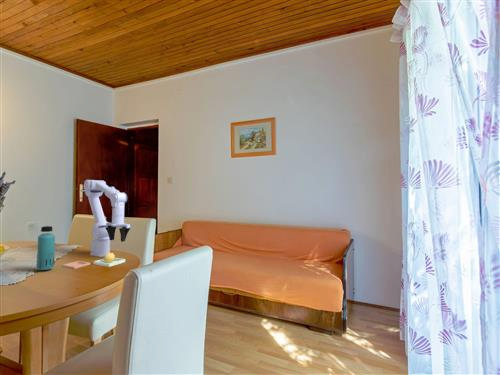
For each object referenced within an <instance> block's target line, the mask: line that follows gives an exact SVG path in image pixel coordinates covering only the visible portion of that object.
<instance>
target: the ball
mask: <svg viewBox="0 0 500 375" xmlns="http://www.w3.org/2000/svg"><path fill="white" fill-rule="evenodd" d="M115 258H116V257H115V254H114V253H113V252H110V253H107V254H106V255H105V256H103V259H104V261H105V262H106V263H112V262H113V261H114V260H115Z"/></svg>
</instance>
